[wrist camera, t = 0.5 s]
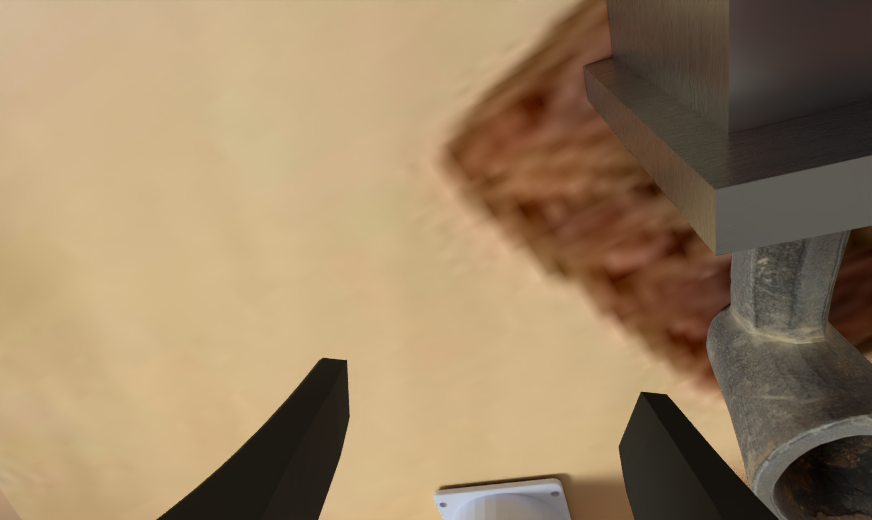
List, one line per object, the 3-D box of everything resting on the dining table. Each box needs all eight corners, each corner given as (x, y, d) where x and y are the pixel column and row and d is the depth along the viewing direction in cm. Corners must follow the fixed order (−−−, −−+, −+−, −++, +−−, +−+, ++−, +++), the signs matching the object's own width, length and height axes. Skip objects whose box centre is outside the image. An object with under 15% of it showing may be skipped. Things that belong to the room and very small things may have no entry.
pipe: (843, 134, 17) (1081, 242, 10) (810, 383, 23) (945, 553, 16) (665, 175, 18) (772, 294, 12) (678, 400, 25) (753, 564, 18)
